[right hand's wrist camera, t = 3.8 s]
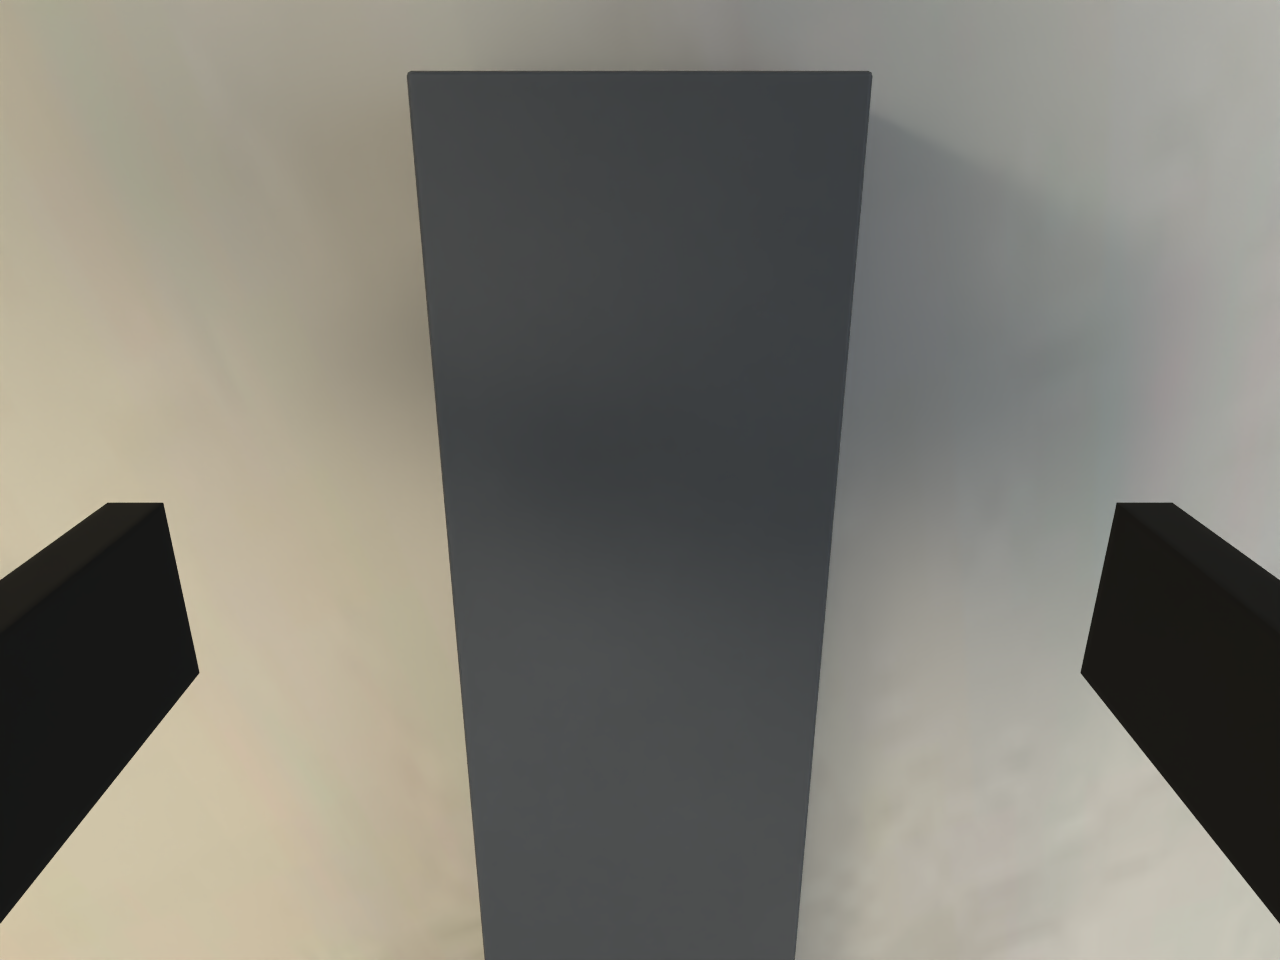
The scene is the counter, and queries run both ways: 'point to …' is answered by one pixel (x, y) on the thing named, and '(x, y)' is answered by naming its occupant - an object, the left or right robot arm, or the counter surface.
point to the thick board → (639, 485)
